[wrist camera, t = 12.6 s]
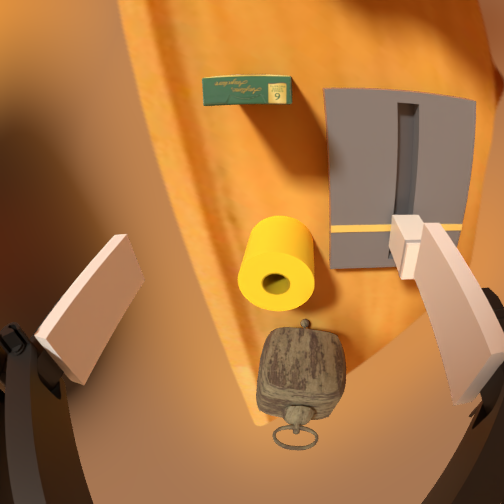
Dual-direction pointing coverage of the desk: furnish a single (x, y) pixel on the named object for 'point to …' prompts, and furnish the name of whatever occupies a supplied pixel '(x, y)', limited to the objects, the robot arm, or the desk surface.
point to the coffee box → (247, 89)
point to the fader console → (394, 167)
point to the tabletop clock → (300, 377)
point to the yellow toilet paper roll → (278, 264)
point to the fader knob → (405, 243)
